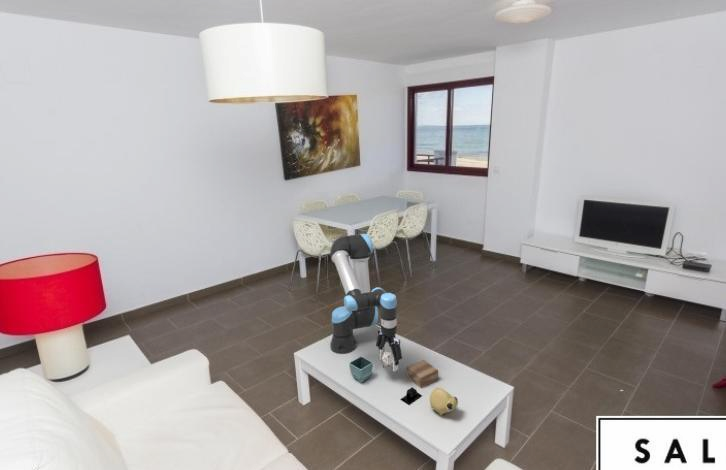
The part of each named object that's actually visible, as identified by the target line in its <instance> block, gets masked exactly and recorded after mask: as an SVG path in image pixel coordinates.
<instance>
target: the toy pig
mask: <svg viewBox="0 0 726 470" xmlns="http://www.w3.org/2000/svg"><path fill="white" fill-rule="evenodd" d="M429 403H430V407H429V408H431V409H433V410H434V411H436V412H437V413H439V415H440V416H443V415H444V414H447V413H449V412H452V411H454V410H456V408H457V407H458V404H459V401H458V398H457V397H456V396H452V395H451V394H450V393H449V392H448V391H446V390H445V389H443V388H441V387H436V388H435V389H433V390H432V391H431V393H430V395H429Z"/></svg>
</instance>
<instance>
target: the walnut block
mask: <svg viewBox="0 0 726 470" xmlns="http://www.w3.org/2000/svg"><path fill="white" fill-rule="evenodd" d="M406 377H407V378H408V379H409V380H410V381H411V382H413V383H414V384H415V385H416V386H417V387H419V389H423V388H425V387H426V386H430V385H431V384H434V383H435V382H438V381H439V370H438V369H437V368H436V367H435V366H433V365H432V364H430V363H429V362H428V361H426V360H425V359H422V360H420V361H417V362H415V363H412V364H410V365H407V366H406Z"/></svg>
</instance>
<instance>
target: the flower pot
mask: <svg viewBox="0 0 726 470" xmlns="http://www.w3.org/2000/svg"><path fill="white" fill-rule="evenodd" d="M348 364H349V370H350V374H351V376H353V378H354V379H356V380H357V381H359V382H360V383H363V382H364V381H366V380H368V379H369V378H370V376H371V374H372V371H373V365H374V361H372V360H369V359H368V358H366V357H364V356H362V355H361V356H359V357H357V358H355V359H353V360H351V361H350V362H348Z"/></svg>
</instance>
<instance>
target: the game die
mask: <svg viewBox="0 0 726 470" xmlns="http://www.w3.org/2000/svg"><path fill="white" fill-rule="evenodd" d="M383 351H384V350H383ZM380 358H381V360H380ZM393 359H394V356H393V353H392V351H386V350H385V351H384V353H383V356H382V357H380V356H379V362H380V361H381V363H382V364H383V366H382V368H385V367H387V368H388V367H391V368H393Z"/></svg>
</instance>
